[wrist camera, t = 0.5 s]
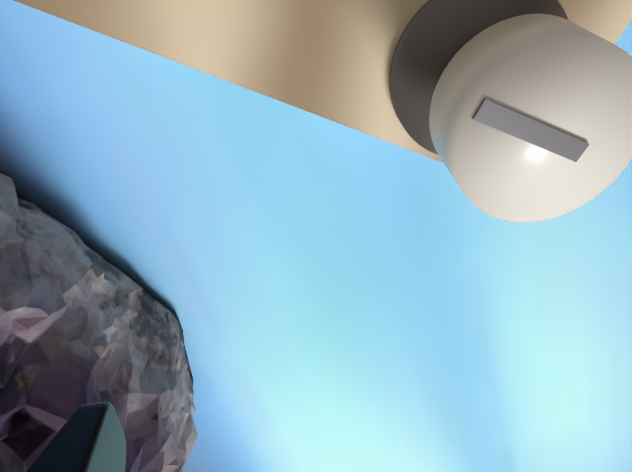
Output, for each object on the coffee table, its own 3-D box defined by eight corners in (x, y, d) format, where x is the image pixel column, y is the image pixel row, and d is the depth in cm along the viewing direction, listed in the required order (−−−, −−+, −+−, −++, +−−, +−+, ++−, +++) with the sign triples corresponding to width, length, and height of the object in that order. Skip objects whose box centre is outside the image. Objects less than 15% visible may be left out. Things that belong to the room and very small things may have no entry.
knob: (597, 34, 16) (694, 86, 13) (505, 170, 18) (567, 244, 15) (463, -36, 15) (534, 2, 11) (380, 122, 17) (419, 192, 14)
